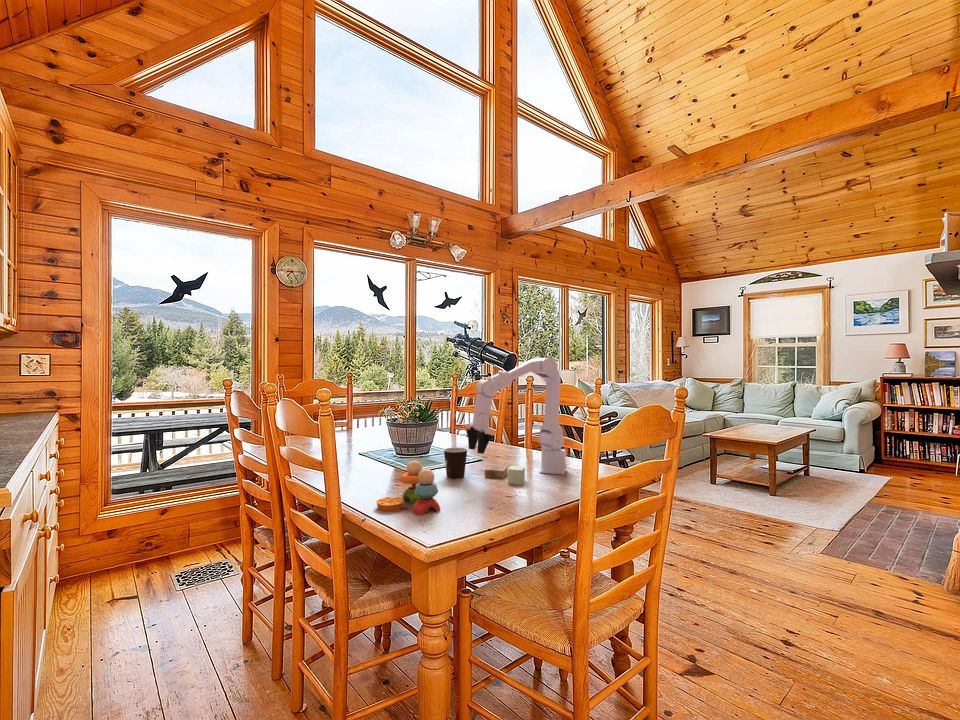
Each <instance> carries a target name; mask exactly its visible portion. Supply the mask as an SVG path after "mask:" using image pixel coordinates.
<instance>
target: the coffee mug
mask: <svg viewBox="0 0 960 720" xmlns="http://www.w3.org/2000/svg"><path fill="white" fill-rule="evenodd" d="M443 455H444V464H445V472H446V478H447V479H451V480H462V479H464V478H465V471H466V464H467V456H468V449H467V448H465V447H455V446H454V447H447V448H444V449H443Z"/></svg>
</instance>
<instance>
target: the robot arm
mask: <svg viewBox="0 0 960 720" xmlns="http://www.w3.org/2000/svg"><path fill="white" fill-rule="evenodd" d="M558 367H559V365H558V363H557V361H555V360H554V359H553V358H552V357H538V356H537V357H534V358H532V359H528V360H527V361H525V362H523V363H522V364H520V365H518V366H516V367H515V368H513V369H511V370H509V371H507V370H499V371H497V373H496V374H494V375H492V376H486V377H487V378H486V379H482V380H479V381H478V382H477V384H476V386H474V391H475V393H476V398H475V399H476V400H475V405H474V410H473V418H472V422H469V423H468V428H465V432H466V436H467V441H468V442H467V443H468V449H469V450H476V447H477V454H481V455H482V454H483V455H484V453H485V451H486V449H487V446H488V445H489V443H490V441H491V439H492V438H493V434H492V428H490V427H489V423H490V415H491V410H492V403H493V397H494V396H495V395H496V394H497V392H499V391H501V390H503V389H504V388H507V387H508V386H511V385H512V382H513V380H515V379H518V378H519V377H522V376H524V375H526V374H528V373H533V374H534V375H537V376H539V377H540V378H541V379H542V380H543V381H545V398H544V399H545V400H544V401H545V402H544V415H543V417H544V421H543V423H542V424H541V426H540V431H539V433H538V435H537V441H538V443H539V444H540V448H541V453H540V454H541V461H540V462H541V465H540V467H541V468H540V469H539V471H538V473H540V474H553V475H555V474H556V475H565V473H566V470H567V450H566V449H565V448H562V447H563V446H564V445H565V437H564V435H563V432H564V431H563V428H562V427H561V425H560V423H559V420H560V402H561V401H560V400H561V399H560V398H561V397H560V396H561V381H562V380H561V375H560V372H559V369H558Z"/></svg>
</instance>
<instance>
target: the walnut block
mask: <svg viewBox="0 0 960 720" xmlns="http://www.w3.org/2000/svg"><path fill="white" fill-rule="evenodd" d="M506 476H508V466H504V465H488V466H487V467H485V469H484V477H485V478H494V479H504V478H505V477H506Z"/></svg>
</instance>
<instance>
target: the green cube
mask: <svg viewBox="0 0 960 720" xmlns="http://www.w3.org/2000/svg"><path fill="white" fill-rule="evenodd" d="M525 470H526V468H525V466H516V465H515V466H514V465H511V466H509V468H507V478H508V479H507V483H508V484H513V485H523V484H524V483H525V481H526V479H525V477H526V476H525V475H526V474H525V472H526V471H525Z"/></svg>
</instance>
